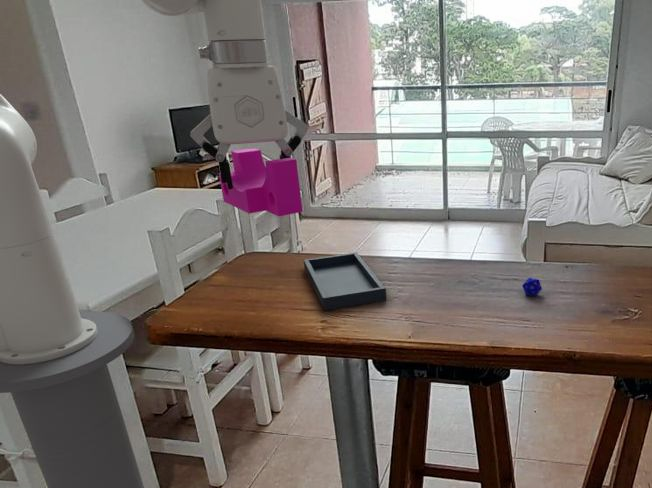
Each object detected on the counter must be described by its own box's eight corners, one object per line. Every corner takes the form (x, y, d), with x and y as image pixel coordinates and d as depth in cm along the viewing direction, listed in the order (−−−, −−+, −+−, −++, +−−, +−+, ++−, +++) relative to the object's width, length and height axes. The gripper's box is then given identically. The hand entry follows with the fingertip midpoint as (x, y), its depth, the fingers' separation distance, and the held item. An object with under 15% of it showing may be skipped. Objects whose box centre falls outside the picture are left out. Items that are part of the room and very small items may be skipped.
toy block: (223, 201, 91) (215, 153, 88) (260, 194, 94) (253, 148, 91) (262, 219, 80) (254, 165, 77) (302, 211, 83) (296, 159, 80)
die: (523, 299, 86) (517, 280, 87) (530, 299, 89) (524, 281, 89) (539, 293, 85) (533, 274, 86) (546, 293, 87) (540, 275, 88)
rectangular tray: (324, 310, 85) (322, 298, 84) (304, 270, 101) (303, 259, 100) (386, 300, 87) (385, 288, 86) (357, 262, 103) (357, 252, 102)
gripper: (170, 58, 73) (197, 196, 80) (307, 54, 78) (320, 184, 85) (173, 58, 79) (197, 185, 86) (299, 54, 84) (312, 175, 92)
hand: (258, 184), depth 86 cm, fingers closed on toy block, 7 cm apart
